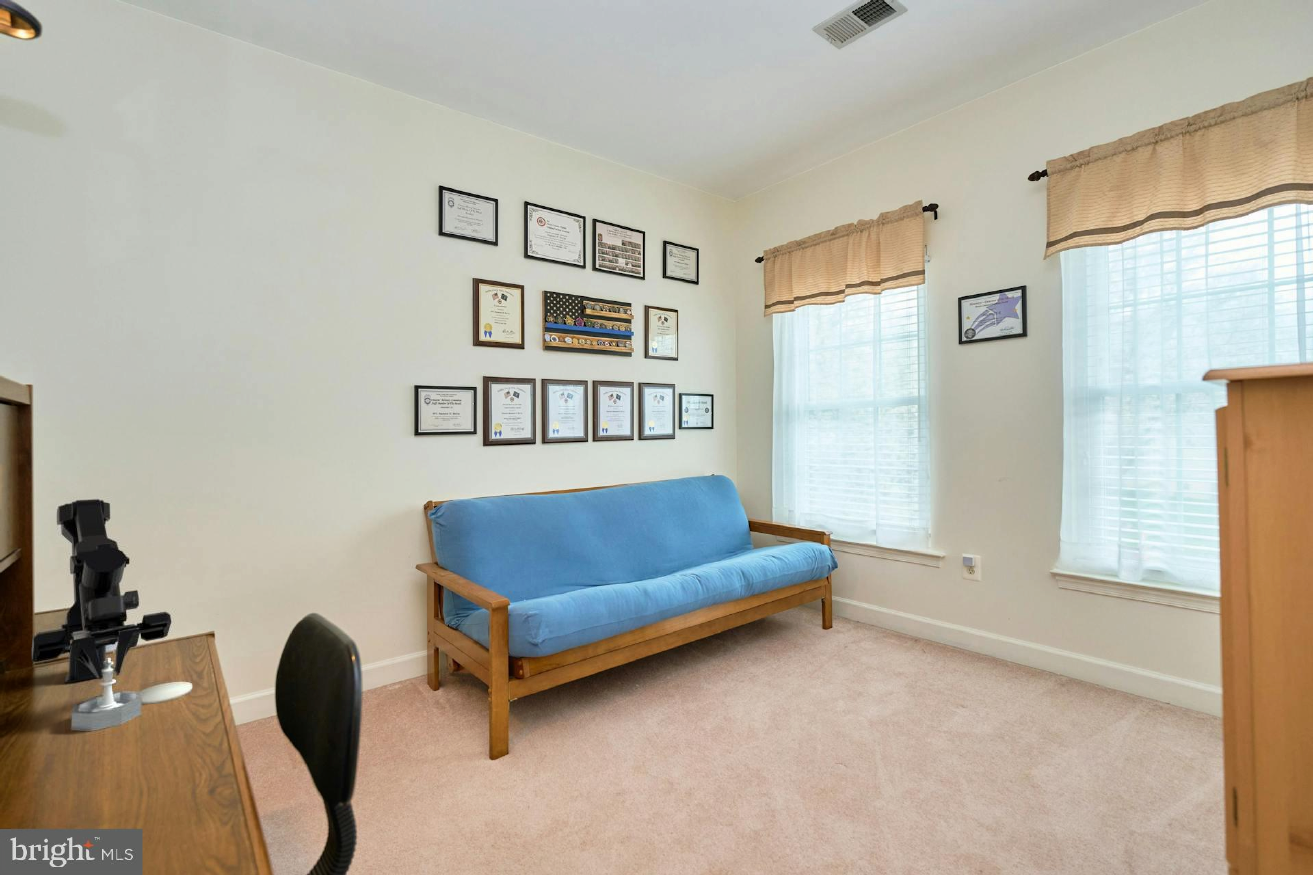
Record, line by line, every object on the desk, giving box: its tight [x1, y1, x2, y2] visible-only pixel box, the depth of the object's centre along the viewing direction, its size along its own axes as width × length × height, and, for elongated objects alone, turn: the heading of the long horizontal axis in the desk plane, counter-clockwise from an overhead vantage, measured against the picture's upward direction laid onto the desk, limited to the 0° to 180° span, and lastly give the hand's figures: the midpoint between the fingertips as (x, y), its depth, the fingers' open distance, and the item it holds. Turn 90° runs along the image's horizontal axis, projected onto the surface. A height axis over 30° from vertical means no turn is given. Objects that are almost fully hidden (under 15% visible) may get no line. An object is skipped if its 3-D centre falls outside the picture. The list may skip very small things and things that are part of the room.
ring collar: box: [71, 690, 142, 732], centre depth 108 cm, size 9×9×3 cm
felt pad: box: [139, 681, 193, 705], centre depth 119 cm, size 9×9×1 cm
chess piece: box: [91, 657, 124, 712], centre depth 108 cm, size 5×5×10 cm
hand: (109, 676), depth 107 cm, fingers closed on chess piece
